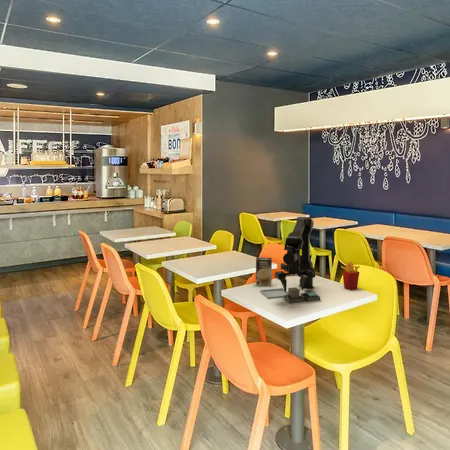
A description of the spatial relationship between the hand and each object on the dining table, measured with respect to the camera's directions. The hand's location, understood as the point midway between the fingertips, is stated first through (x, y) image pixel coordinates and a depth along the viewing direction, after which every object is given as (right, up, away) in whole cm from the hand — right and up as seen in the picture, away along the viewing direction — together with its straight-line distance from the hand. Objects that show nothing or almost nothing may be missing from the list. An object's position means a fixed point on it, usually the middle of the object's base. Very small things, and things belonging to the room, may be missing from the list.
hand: (293, 290), depth 217 cm
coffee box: (-12, -2, +32) cm, 34 cm away
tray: (-8, -4, +13) cm, 16 cm away
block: (0, -5, +1) cm, 5 cm away
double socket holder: (+4, -6, +2) cm, 8 cm away
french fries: (+34, -2, +24) cm, 42 cm away
